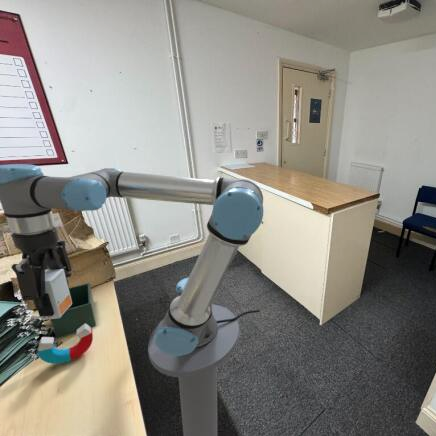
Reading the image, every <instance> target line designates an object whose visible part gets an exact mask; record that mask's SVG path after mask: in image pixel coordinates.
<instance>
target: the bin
mask: <svg viewBox="0 0 436 436" xmlns="http://www.w3.org/2000/svg"><path fill="white" fill-rule="evenodd" d="M69 289H70V293H71V300H72V305H71V306H70V307H69V308H68V309H67V310H66V311H65V313H64V314H63V315H62V316H61V318H57V319H50V322H51V326H52V329H53V332H54V334H55V338H56V339H60V338H63V337H66V336H68V335H71V334H75V333H77V329H78V328H80V327H81V326H82V325H84V324H85V323H86V324H87V325H89V327H90V328H93V327H96V326H97V322H96V310H95V302H94V297H93V291H92V288H91V283H90V282H88V283H83V284H79V285H75V286H71V287H70V286H69Z"/></svg>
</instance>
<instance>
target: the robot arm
mask: <svg viewBox="0 0 436 436" xmlns="http://www.w3.org/2000/svg"><path fill="white" fill-rule="evenodd" d="M108 198H119V199H120V198H122V199H133V200H134V199H136V200H147V201H158V202H159V201H161V202H169V203H171V202H172V203H183V204H195V205H207V206H212V210H211V214H210V216H209V218H208V222H207V223H206V230H207V231H208V236H207V238H206V240H205V242H204V244H203V246H202V249H201V250H200V253H199V255H198V257H197V260H196V262H195V263H194V266H193V268H192V270H191V272H190V274H189V276H188V277H185V278H183V279H181V280H179V281H178V282H177V284H176V286H175V292H176V295H175V298H174V299H173V300H172V301H171V303H170V304H169V306H168V308H167V311H166V314H165V316H164V318H163V319H164V320H163V319H162V320H163V322H162V324H161V326H160V328H159V329H158V330H157V332H156V335H155V339H154V341H155V345H156V346H157V347H158V348H159V350H161V351H162V352H164V353H166V354H169V355H174V356H182V355H186V354H189V353H191V352H192V351H193V350H194V349H197V348H200V347H203V346H205V345H207V344H208V343H210V342H211V341H212V340H213V339H214V337H215V336H216V334H217V323H222V322H229V321H234V320H236V319H237V320H238V319H240V318H241V317H243V316H244V315H248V314H253V313H254V314H255V313H260V312H261V310H260V309H254V310H247V311H244V312H242V313H240V314H238V315H237V316H235V318H232V319H225V320H219V321H216V320H215V318H214V315H213V313H212V304H213V299H214V297H215V295H216V293H217V290H218V289H219V288H220V286H221V283H222V281H223V279H224V277H225V276H226V273H227V272H228V270H229V267H230V266H231V264H232V262H233V260H234V258H235V256H236V254H237V253H238V250H239V248H240V247H243V246H246V245H247V244H248V243H249V241H250V239H251V237H252V236H253V234H255V233H256V231H257V230H258V229H259V228H260V226H261V224H262V222H263V219H264V196H263V192H262V190H261V188H260V186H258V184H257V183H255V182H254V181H252V180H249V179H246V178H235V177H234V178H233V177H220V176H219V177H217V178H216V179H215V180H214V179H204V178H195V177H183V176H173V175H163V174H162V175H161V174H152V173H151V174H150V173H140V172H131V171H124V170H122V169H119V168H116V167H111V168H110V167H109V168H107V167H106V168H101V169H99V170H95V171H91V172H90V171H89V172H86V173H83V174H82V173H81V174H76V175H71V176H66V177H65V176H51V175H44V173H43V170H42V168H41V167H40V166H38V165H35V164H28V163H27V164H26V163H11V164H0V204H1V208H2V210H3V213H4V216H5V219H6V222H7V225H8V228H9V232H11V235H10V236H11V238H12V242H13V245H14V247H15V248H16V249H18V250H19V251H20V252H21V254H22V255H21V260H20V262H19V263H13V264H12V265H11V270H12V271H13V272H14V273H15V276H16V280H17V284H18V288H19V291H20V295H21V300H22V301H32V302H33V305H34V309H36V310H37V313H38V315H39V318H40V317H41V316H53V315H54V311H53V308H52V304H51V301H50V298H49V294H45V270H53V269H64V273H65V277H66V280H67V284H68V288H70V286H69V285H70V284H69V280H68V278H71V276H72V273H71V272H72V271H73V267H72V265H71V262H70V258H69V256H68V251H67V249H66V241H65V240H60V237H59V234H58V230H57V228H56V220H55V218H54V213H53V209H55V210H67V211H76V212H85V211H87V212H88V211H89V212H92V211H93V212H94V211H97V210H100V209H101V208H102V207H103V205H104V204H105V203H106V201H107V199H108ZM69 292H70V289H69ZM70 296H71V293H70Z"/></svg>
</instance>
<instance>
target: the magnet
mask: <svg viewBox="0 0 436 436" xmlns="http://www.w3.org/2000/svg"><path fill="white" fill-rule="evenodd" d="M93 334H94V333H93V330H92V327H89V325H87V324H86V323H85V324H84V325H82V326H81V327H80V328H78V329H77V332H76V337H77V338H79V341H78V342H77V343H76V344H75V345H73V346H70V347H69V348H64V349H63V348H62V349H61V348H57V347H55V346H54V340H55V337H53V336H42V337H41V338H40V340H39V344H38V349H37V354H38V357H39V359H41V360H42V362H45V363H48V364H53V365H54V364H56V365H57V364H63V363H64V364H65V363H68V362H71V361H73V360H75V359H78V358H79V357H81V356H82V355H84V354H85V353H87V351H88V350H89V348H90V347H91V346H92V344H93V339H94V338H93V336H94V335H93Z"/></svg>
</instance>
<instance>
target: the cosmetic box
mask: <svg viewBox="0 0 436 436" xmlns="http://www.w3.org/2000/svg"><path fill="white" fill-rule="evenodd" d="M67 280H68V279H67ZM67 280H66V277H65V273H64V269H53V270H50V269H46V270H45V294H49V298H50V301H51V304H52V308H53V311H54V315H53V316H41V317H40V316H39V319H40V320H41V321H45V320H51V319H57V318H61V316H62V315H63V314H64V313H65V311H66V310H67V309H68V308H69V307H70V306H71V305H72V300H71V296H70V292H69V288H70V287H69V288H68V286H69V284H67Z"/></svg>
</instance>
